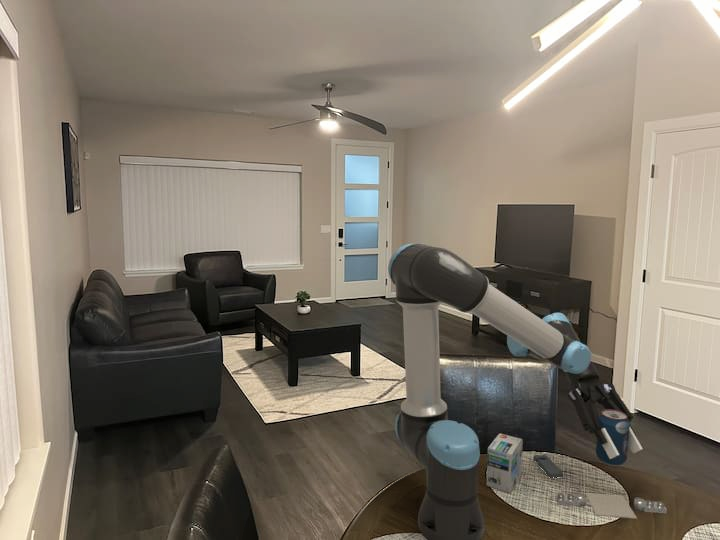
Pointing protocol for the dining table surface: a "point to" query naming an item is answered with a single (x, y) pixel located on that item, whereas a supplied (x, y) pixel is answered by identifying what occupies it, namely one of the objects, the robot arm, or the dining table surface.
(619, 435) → the soda can
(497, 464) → the light bulb box
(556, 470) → the bracket
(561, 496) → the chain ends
